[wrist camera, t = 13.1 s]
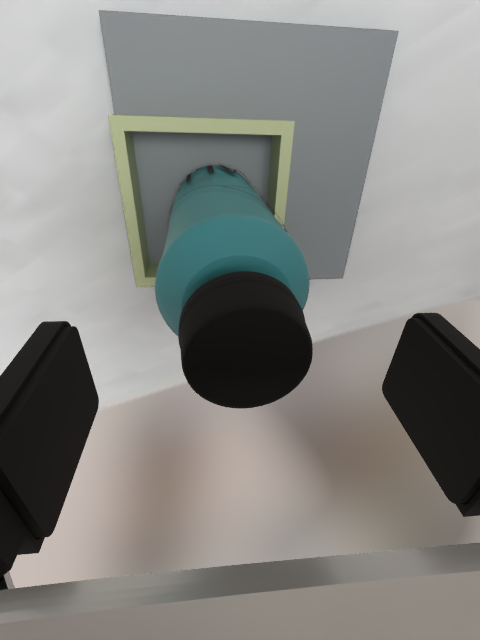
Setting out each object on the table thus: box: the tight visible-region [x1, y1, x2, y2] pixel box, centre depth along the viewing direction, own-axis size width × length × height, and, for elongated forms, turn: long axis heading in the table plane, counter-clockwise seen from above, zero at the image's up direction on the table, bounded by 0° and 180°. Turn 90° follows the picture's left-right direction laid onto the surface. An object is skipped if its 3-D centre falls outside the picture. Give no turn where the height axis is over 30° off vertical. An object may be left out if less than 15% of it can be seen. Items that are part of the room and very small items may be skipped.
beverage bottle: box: [155, 163, 312, 408], centre depth 17 cm, size 6×7×20 cm
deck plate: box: [99, 10, 398, 287], centre depth 24 cm, size 19×18×4 cm
